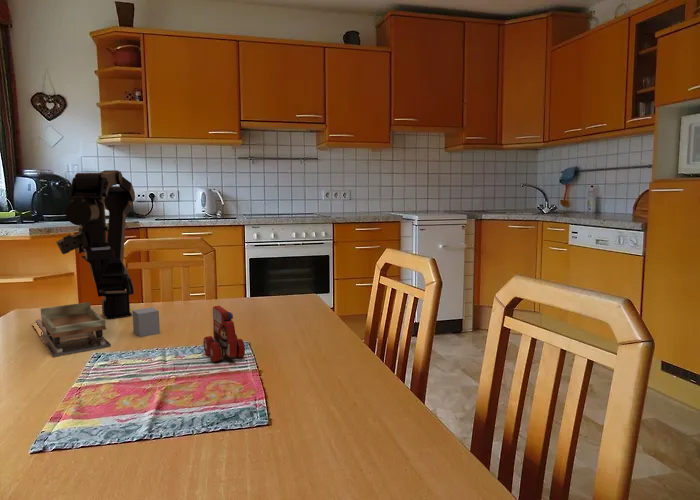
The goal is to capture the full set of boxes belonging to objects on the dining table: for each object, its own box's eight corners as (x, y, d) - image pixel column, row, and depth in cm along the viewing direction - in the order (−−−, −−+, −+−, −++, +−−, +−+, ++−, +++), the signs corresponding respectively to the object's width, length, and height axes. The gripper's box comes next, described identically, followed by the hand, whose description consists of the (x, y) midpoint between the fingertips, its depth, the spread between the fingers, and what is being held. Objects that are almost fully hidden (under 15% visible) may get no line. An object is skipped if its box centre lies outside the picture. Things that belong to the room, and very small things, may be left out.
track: (80, 318, 150) (80, 313, 150) (110, 346, 124) (110, 340, 124) (31, 325, 143) (31, 320, 143) (52, 357, 117) (52, 351, 116)
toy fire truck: (216, 367, 110) (214, 318, 108) (201, 350, 120) (199, 306, 119) (249, 361, 113) (247, 313, 112) (231, 346, 124) (229, 302, 122)
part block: (153, 329, 138) (152, 307, 137) (159, 333, 134) (158, 310, 133) (133, 333, 135) (132, 310, 134) (139, 337, 131) (138, 313, 130)
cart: (91, 325, 137) (89, 302, 136) (106, 339, 125) (104, 313, 124) (42, 332, 130) (40, 308, 130) (53, 348, 118) (51, 321, 117)
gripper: (53, 222, 137) (58, 281, 139) (61, 226, 122) (66, 292, 124) (100, 220, 144) (104, 277, 145) (113, 224, 128) (117, 287, 130)
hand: (97, 283), depth 136 cm, fingers closed
